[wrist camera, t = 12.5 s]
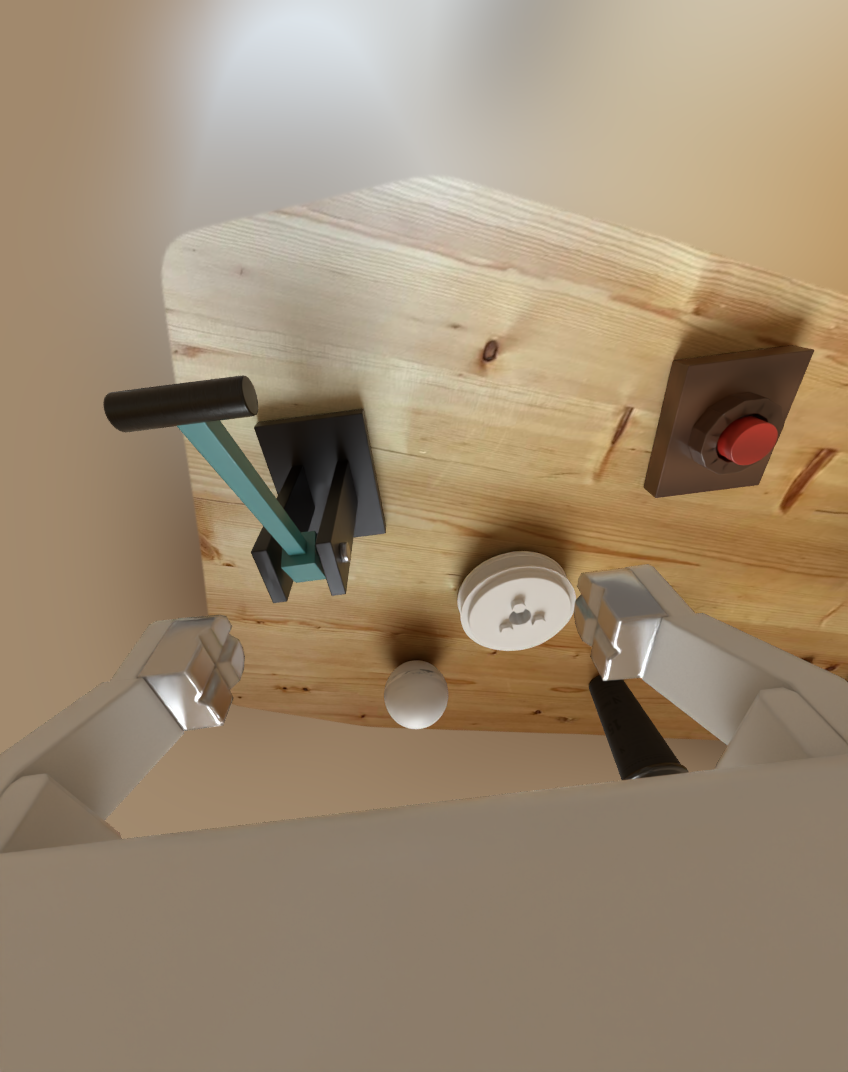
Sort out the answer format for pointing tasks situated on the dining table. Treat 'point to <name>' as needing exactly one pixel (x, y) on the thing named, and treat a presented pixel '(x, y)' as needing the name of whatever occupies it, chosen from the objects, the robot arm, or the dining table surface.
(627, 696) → the drinking cup
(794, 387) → the button block
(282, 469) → the bracket
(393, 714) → the bath bomb
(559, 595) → the lid
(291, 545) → the lever
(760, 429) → the button
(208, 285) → the dining table surface
